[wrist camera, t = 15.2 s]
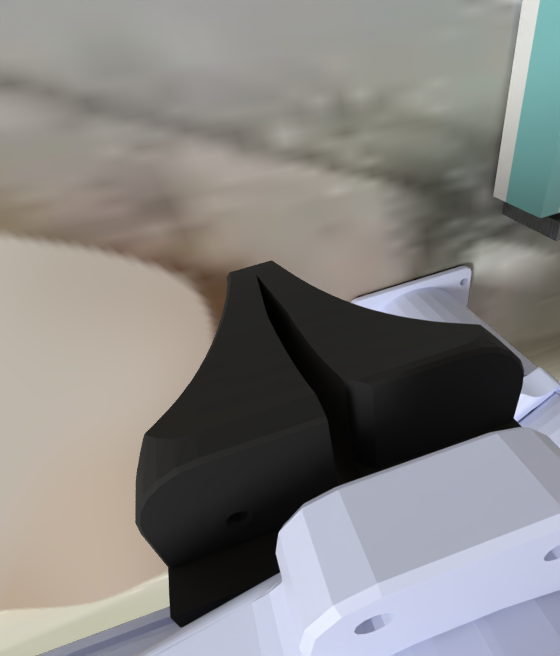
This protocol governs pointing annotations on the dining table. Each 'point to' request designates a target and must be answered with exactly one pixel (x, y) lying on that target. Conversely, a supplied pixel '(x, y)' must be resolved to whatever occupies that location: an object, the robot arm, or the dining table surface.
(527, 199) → the tray
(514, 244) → the dining table surface
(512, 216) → the dock
